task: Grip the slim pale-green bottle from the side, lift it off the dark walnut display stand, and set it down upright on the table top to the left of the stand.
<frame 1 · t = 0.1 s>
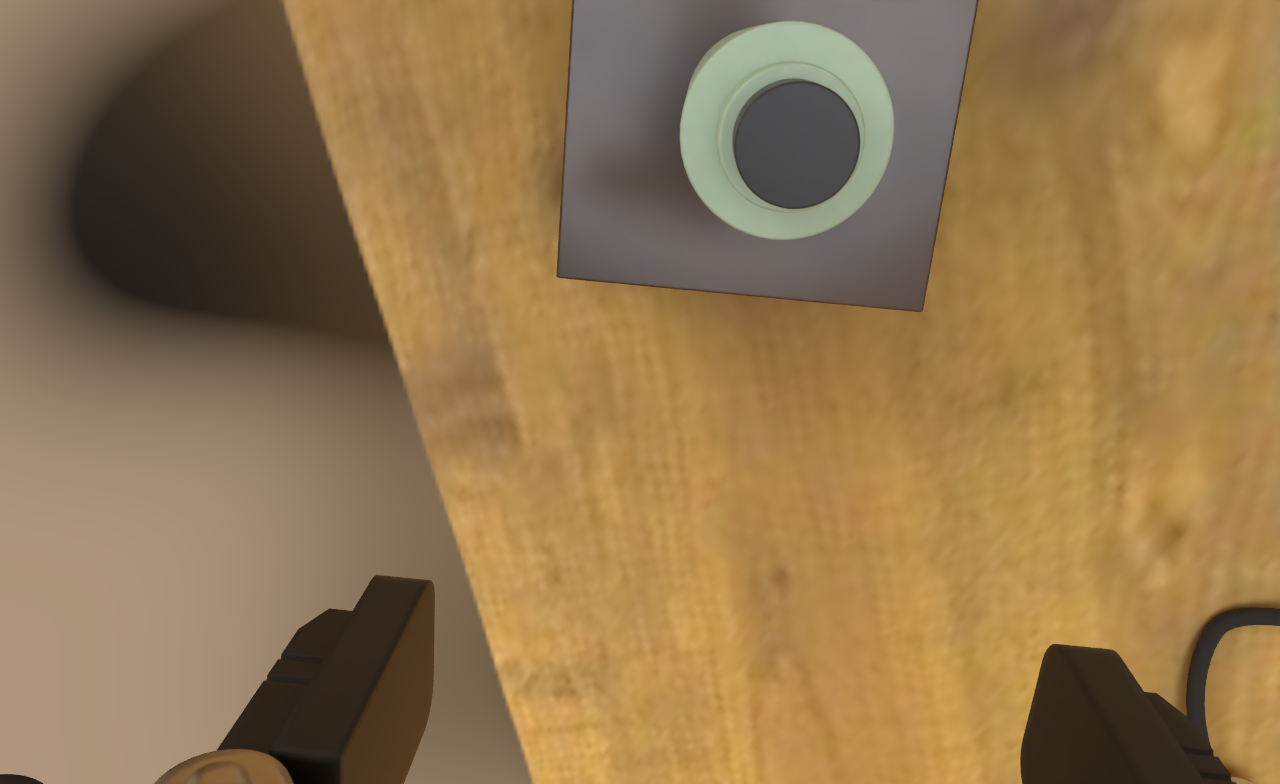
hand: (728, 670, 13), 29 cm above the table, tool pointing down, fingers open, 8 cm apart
stand: (749, 92, 39), on the table
bottle: (761, 105, 31), point 8 cm above the table, touching stand
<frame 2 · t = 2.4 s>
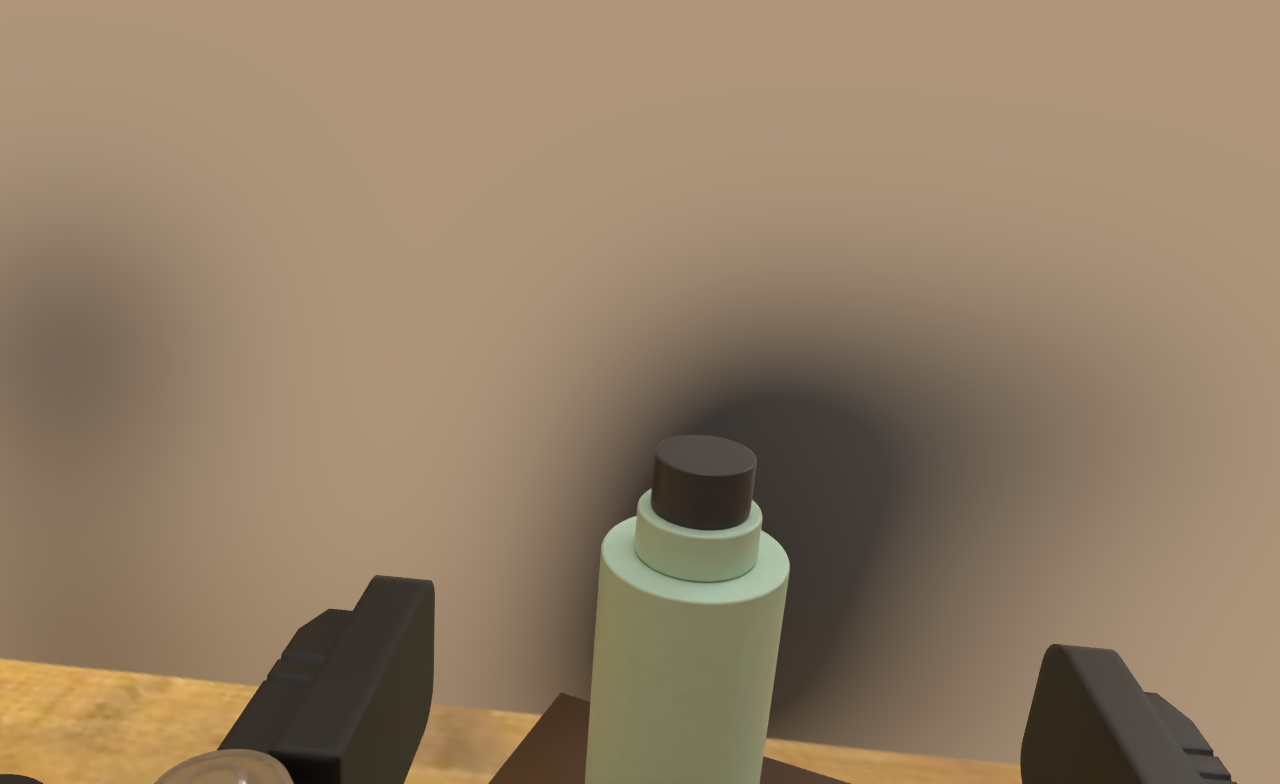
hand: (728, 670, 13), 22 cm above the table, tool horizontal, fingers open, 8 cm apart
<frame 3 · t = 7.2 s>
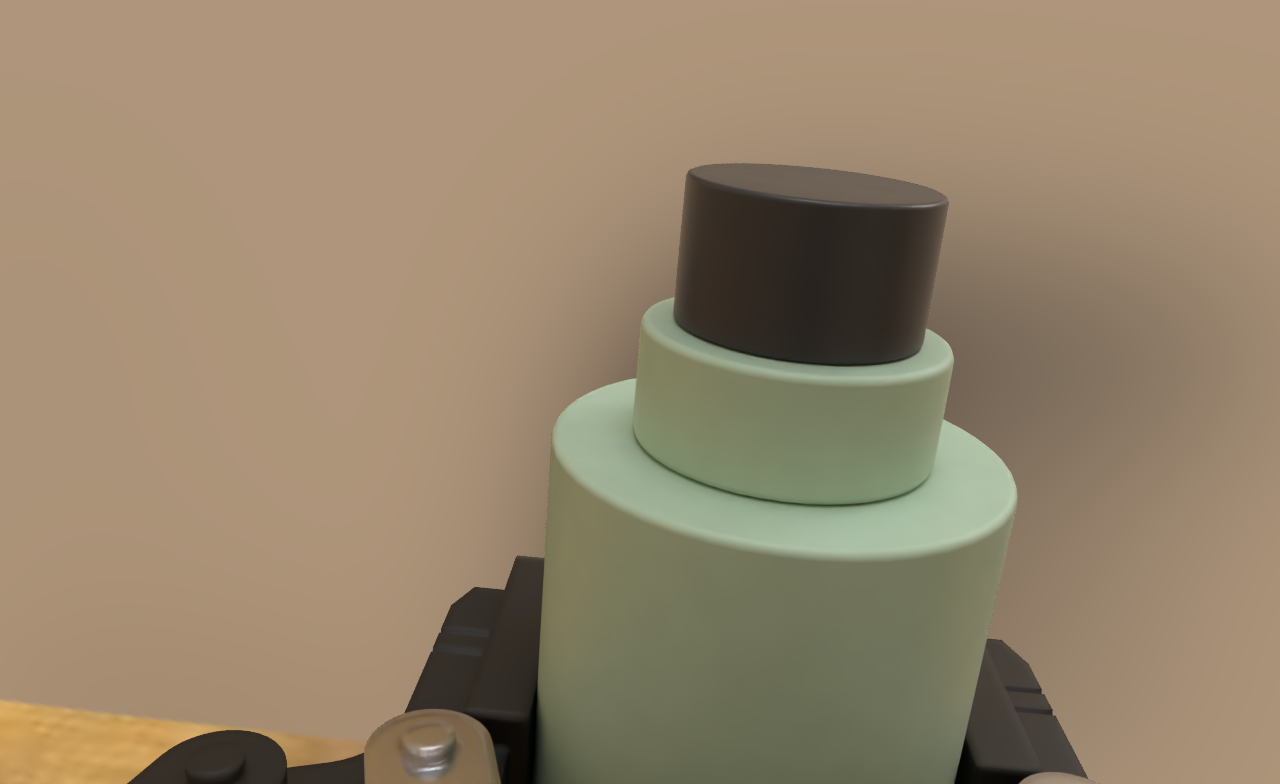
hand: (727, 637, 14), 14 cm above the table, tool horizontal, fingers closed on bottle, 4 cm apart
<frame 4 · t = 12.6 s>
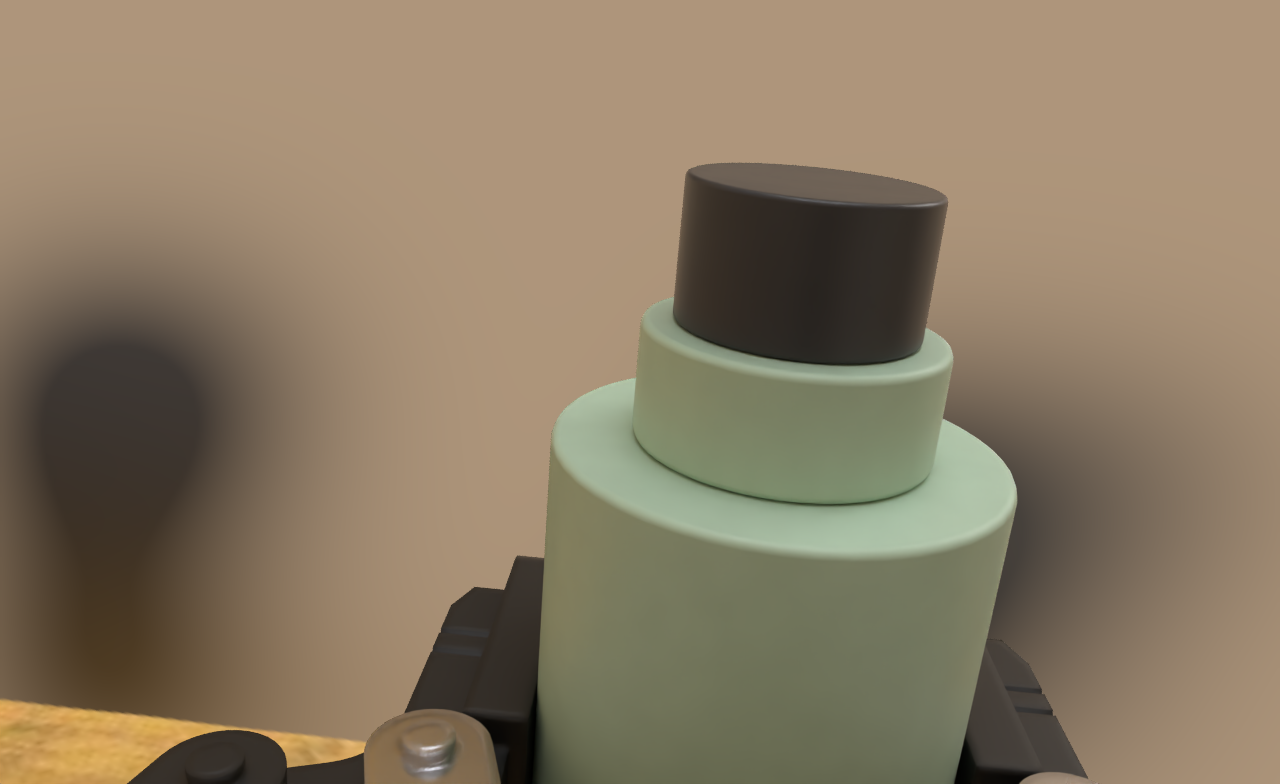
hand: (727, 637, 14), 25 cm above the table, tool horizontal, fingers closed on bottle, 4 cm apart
when the fingers open (6 cm above the table, at t = 18.1 s): bottle stays where it is, on the table.
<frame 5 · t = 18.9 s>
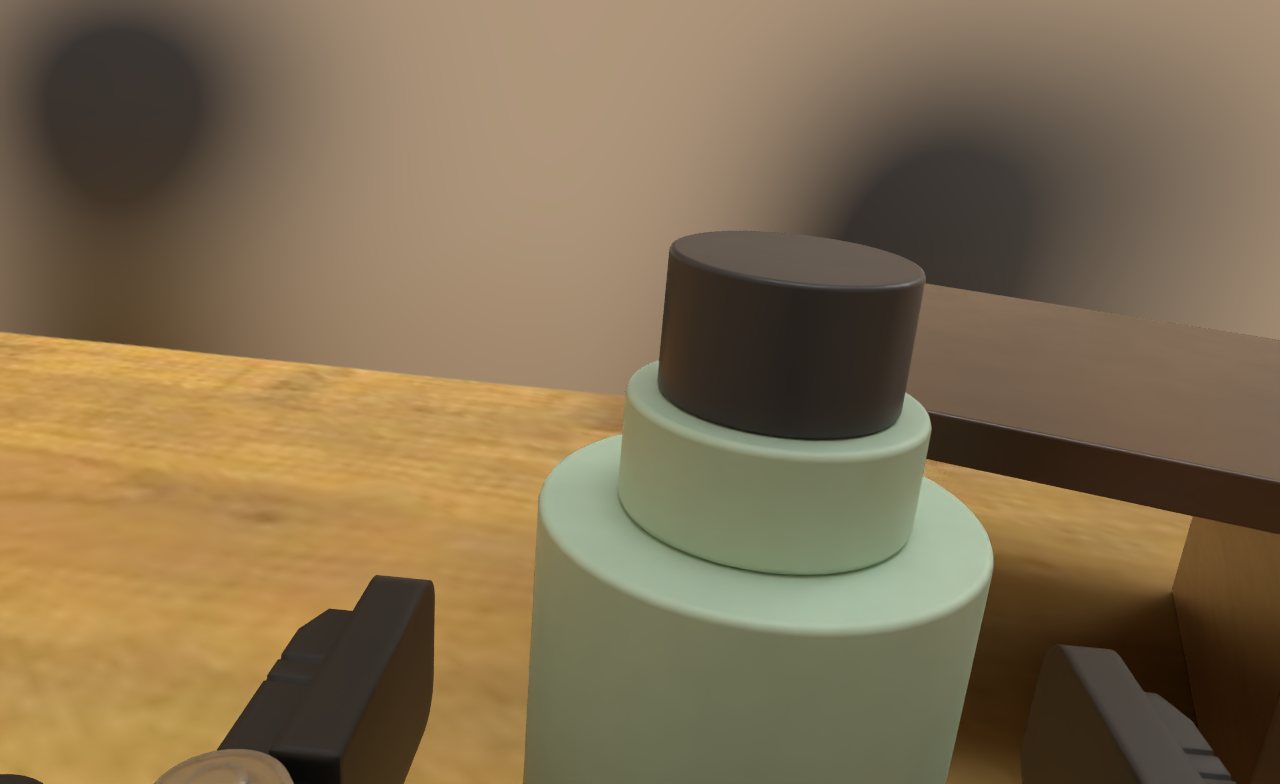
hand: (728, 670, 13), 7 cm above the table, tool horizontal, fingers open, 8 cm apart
stand: (990, 644, 27), on the table
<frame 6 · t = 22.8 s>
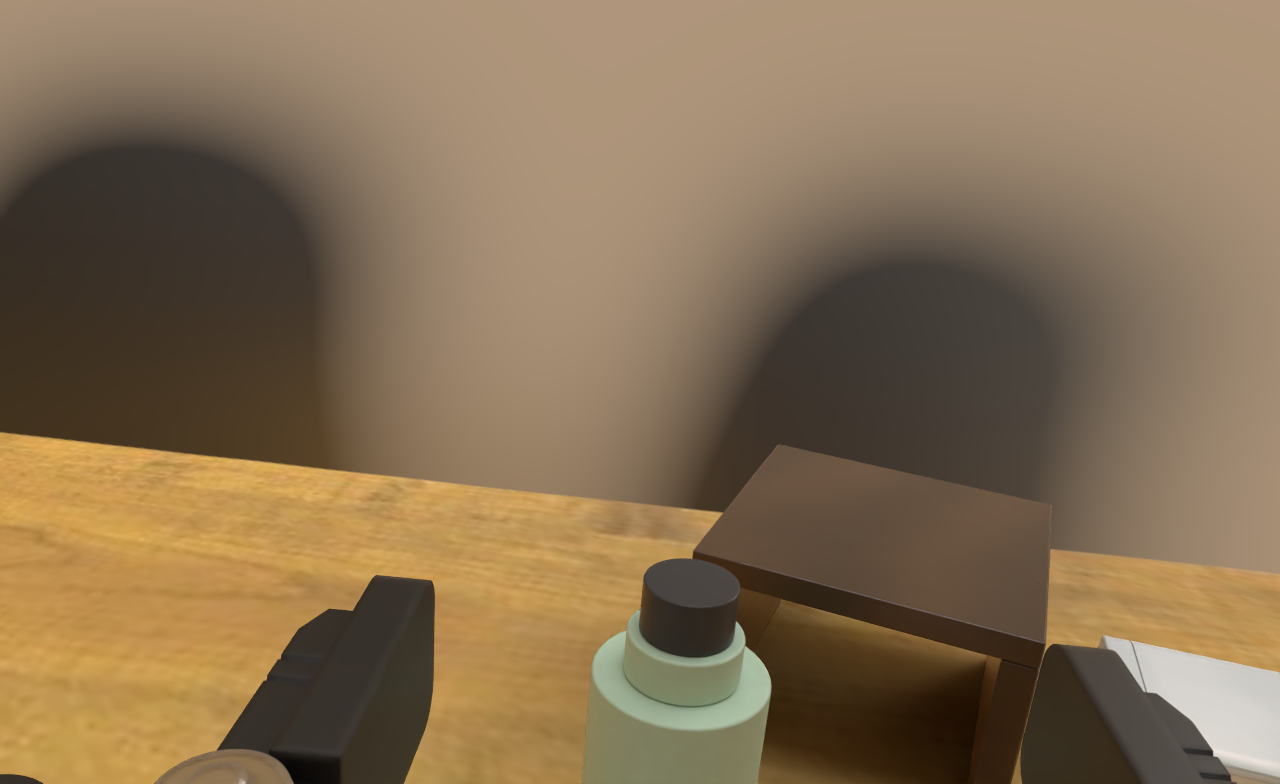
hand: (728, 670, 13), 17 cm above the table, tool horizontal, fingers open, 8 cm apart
stand: (855, 698, 43), on the table
hard drive: (1266, 752, 42), on the table
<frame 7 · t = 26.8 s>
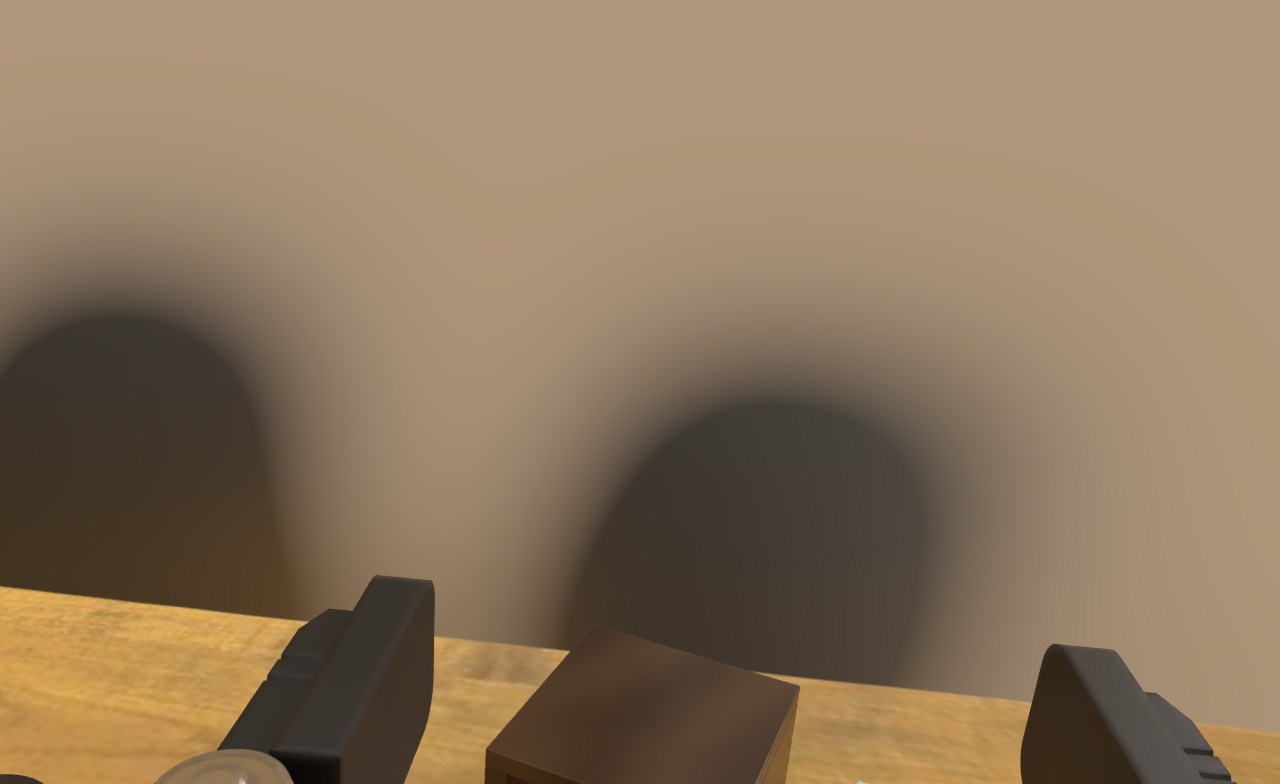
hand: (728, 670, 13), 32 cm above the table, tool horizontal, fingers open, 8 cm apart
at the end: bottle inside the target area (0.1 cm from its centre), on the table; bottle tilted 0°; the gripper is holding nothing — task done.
